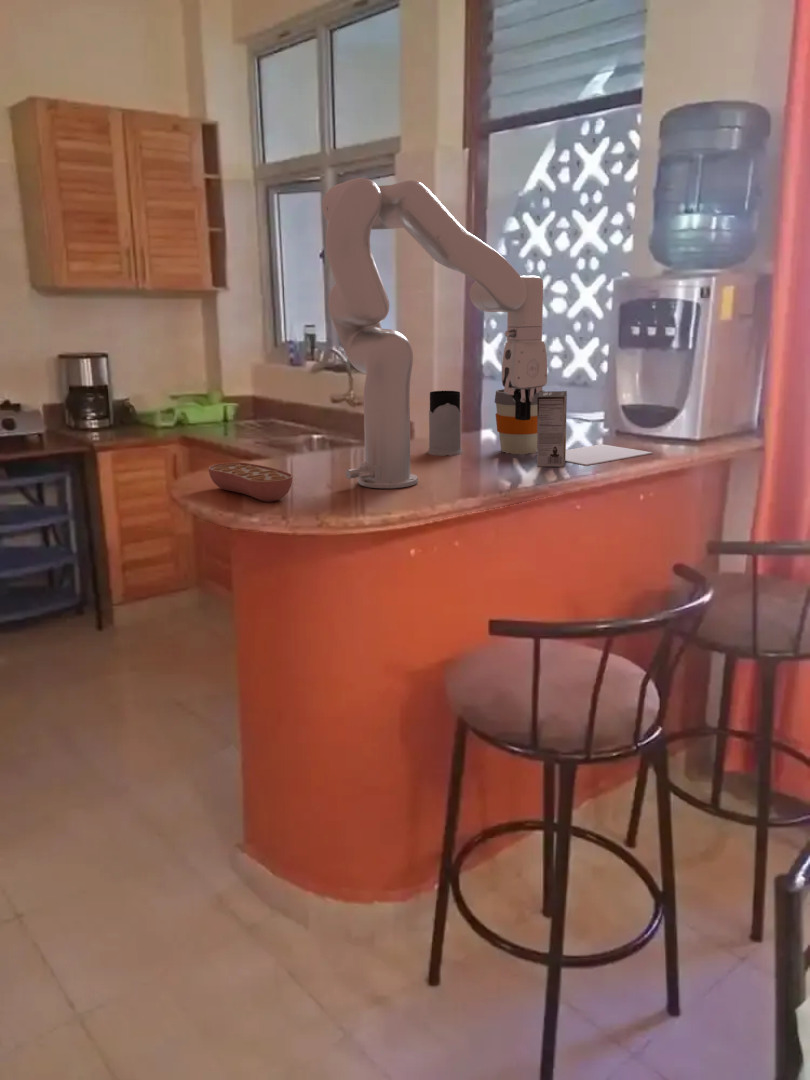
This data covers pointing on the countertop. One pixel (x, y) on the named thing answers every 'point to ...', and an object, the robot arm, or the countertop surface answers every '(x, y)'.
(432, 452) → the glass holder
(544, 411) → the coffee box
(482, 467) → the countertop surface
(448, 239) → the robot arm
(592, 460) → the mat
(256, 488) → the brown oblong piece
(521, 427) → the reusable coffee cup
